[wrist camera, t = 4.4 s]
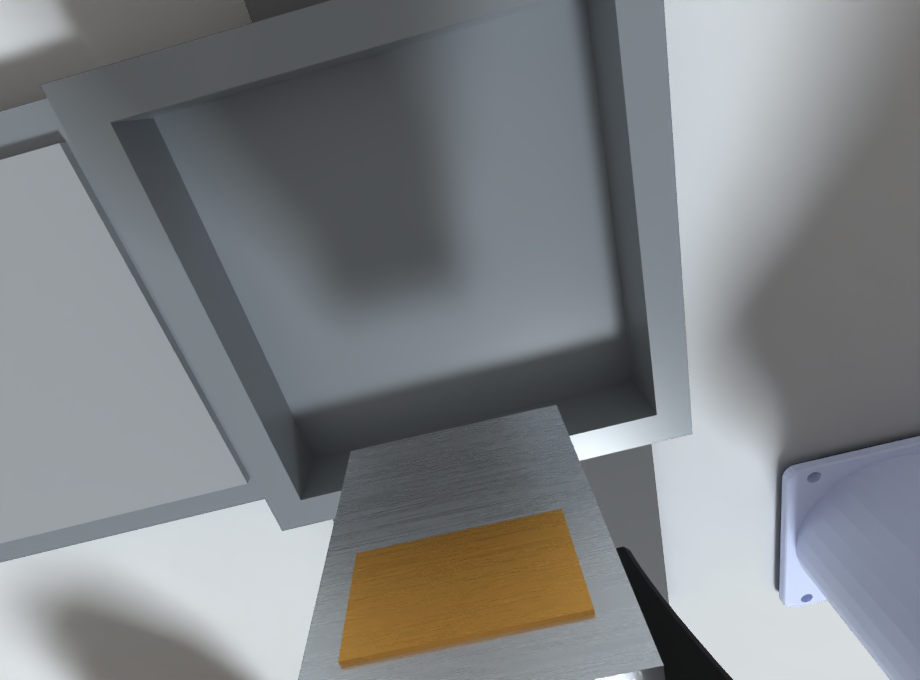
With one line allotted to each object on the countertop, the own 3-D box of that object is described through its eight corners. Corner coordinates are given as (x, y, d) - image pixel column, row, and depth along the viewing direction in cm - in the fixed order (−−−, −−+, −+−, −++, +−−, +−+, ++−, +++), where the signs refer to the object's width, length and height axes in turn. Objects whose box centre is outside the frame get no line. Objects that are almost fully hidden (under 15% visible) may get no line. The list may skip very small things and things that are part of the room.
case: (602, -117, 12) (652, -174, 10) (653, 383, 19) (692, 434, 16) (-376, 172, 14) (-571, 192, 11) (-29, 549, 20) (-101, 621, 17)
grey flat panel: (643, 421, 19) (649, 430, 19) (664, 601, 23) (669, 613, 23) (329, 496, 20) (327, 507, 19) (405, 657, 24) (405, 671, 24)
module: (555, 401, 10) (680, 702, 5) (595, 617, 12) (704, 960, 7) (349, 447, 10) (269, 782, 5) (430, 651, 13) (429, 1006, 8)
